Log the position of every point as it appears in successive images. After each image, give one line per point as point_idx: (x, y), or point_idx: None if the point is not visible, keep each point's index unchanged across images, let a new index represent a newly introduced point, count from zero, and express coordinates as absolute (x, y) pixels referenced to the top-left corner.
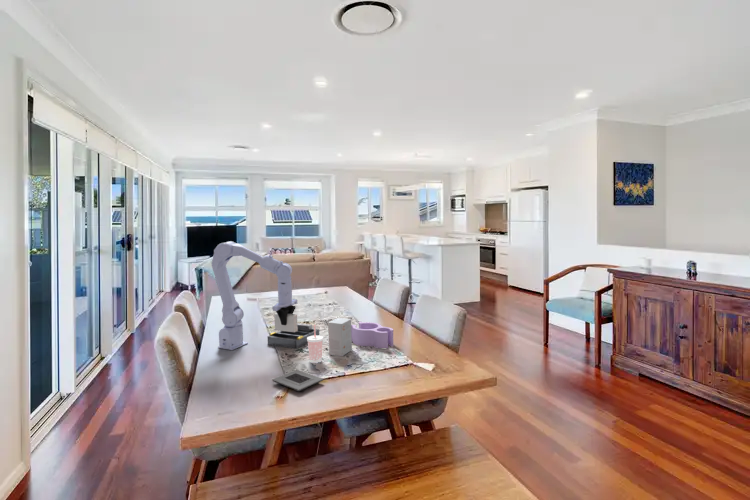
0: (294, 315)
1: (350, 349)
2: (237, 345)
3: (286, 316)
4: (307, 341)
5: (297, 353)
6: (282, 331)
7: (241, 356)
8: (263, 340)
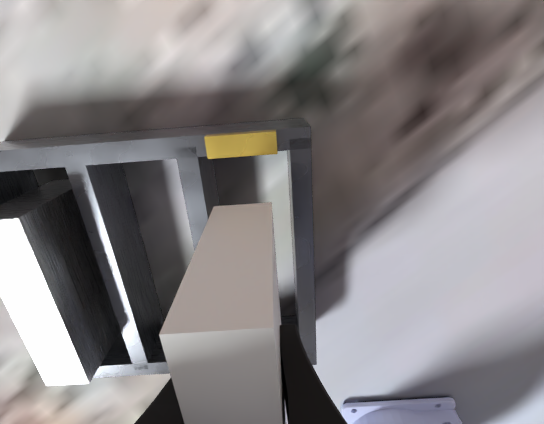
0: (241, 331)
1: None
2: (410, 412)
3: (304, 409)
4: (162, 130)
5: (383, 45)
6: None
7: (521, 312)
8: None
